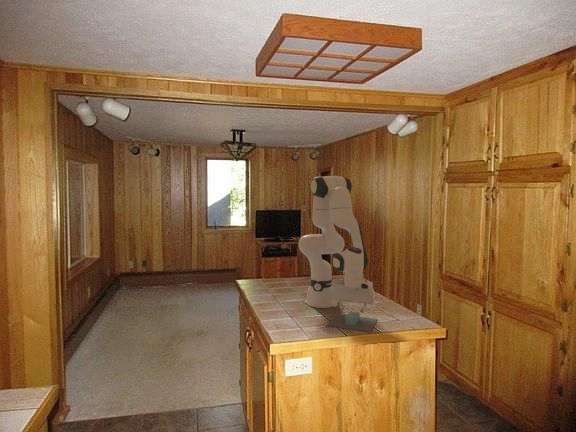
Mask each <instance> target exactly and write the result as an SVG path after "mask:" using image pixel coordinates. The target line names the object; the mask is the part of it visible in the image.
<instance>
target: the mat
mask: <svg viewBox="0 0 576 432" xmlns="http://www.w3.org/2000/svg"><path fill="white" fill-rule="evenodd" d="M347 315H348V314H343V313H342V314H341V313H336V314H335V315H334V316H333V317H332V318H331V320H330V321H329V322H328V323H327V324H326V326H327V327H331V328H332V327H333V328H339V329H346V330H352V331H358V332H366V333H371V332H372V331H373V328H374V327H375V325H376V323H377V321H378V318H371V317H366V316H360V317H359V321H358V322H357V324H356V325H348V324H345V322H346V316H347Z"/></svg>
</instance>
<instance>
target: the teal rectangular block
mask: <svg viewBox="0 0 576 432" xmlns="http://www.w3.org/2000/svg"><path fill="white" fill-rule="evenodd" d="M360 314H361V312H357V311H349V312H348V313H347V314H346V315H347V316H346V322H345V324H348V325H356V324H357V322H358V321H359V317H361V316H360Z"/></svg>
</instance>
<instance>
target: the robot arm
mask: <svg viewBox="0 0 576 432" xmlns="http://www.w3.org/2000/svg"><path fill="white" fill-rule="evenodd" d="M352 188H353V184H352V181H351V180H350V178H349V177H346V176H340V175H339V176H337V175H329V176H328V175H325V176H321V175H319V176H314V177H313V179H312V180H311V183H310V192H311V193H312V195H313V202H312V217H311V218H312V224H313V225H314V226H315V227H317V228H319V229H321V233H317V234H316V233H312V234H311V233H310V234H306V235H302V236H301V237H300V239H299V241H298V244H297V245H298V248H299V249H298V250H300V252H301V253H302V254H303V255H304V256H305V257H306V258H307V259H308V261H309V265H310V279H309V287H308V288H307V292H306V293H307V294H306V299H305V300H304V302H303V303H304V304H306V305H307V306H309V307H312V308H317V309H319V308H320V309H325V308H326V309H327V308H328V309H329V308H331V307H332V308H336V307H338V305H339V306H340V310H342V311H344V310H345V307H346V305H345V304H343V302H347V303H348V302H349V303H357V304H363V307H360V313H363V314H364V313H365V309H366V307H367V305H371V306H372V305H374V304H375V301H376V295H375V290H374V288H373V285H374V283H373V281H370V280H368V279H366V278H364V273H363V272H364V271H365V270H366V269H367V267H368V265H369V262H370V259H369V255H368V253H367V251H366V246H365V242H364V239H363V238H364V237H363V234H362V233H363V232H362V228H361V225H360V222H359V220H358V219H356V216H354V215H355V214H354V212H353V204H352V197H351V194H350V193H351V192H352ZM335 226H336V227H338V228H340V229H343V230H345V231H347V232H348V233H349V234H350V236H351V240H352V241H351V242H352V246H351V247H347V248H346V249H345V250H344V248H345V240H344V238H343V236H342V235H341V234H340V233H338V231H337V230H336V228H335ZM322 255H333V257H332V265H331V264H330V263H329V262H328V261H327V260H325V259H323V257H322ZM332 267H333V269H334V270H335V271H337V272H343V273H344V279H343V280H338V279H336V280H333V278H332Z"/></svg>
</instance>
